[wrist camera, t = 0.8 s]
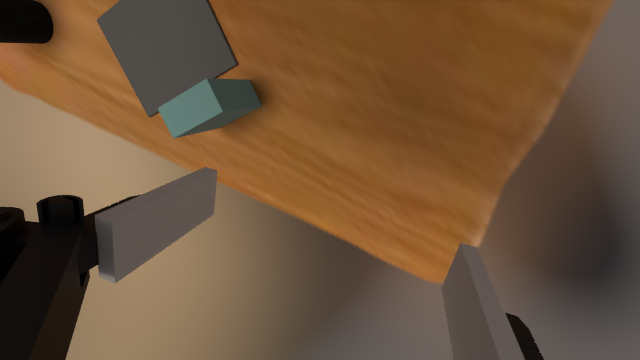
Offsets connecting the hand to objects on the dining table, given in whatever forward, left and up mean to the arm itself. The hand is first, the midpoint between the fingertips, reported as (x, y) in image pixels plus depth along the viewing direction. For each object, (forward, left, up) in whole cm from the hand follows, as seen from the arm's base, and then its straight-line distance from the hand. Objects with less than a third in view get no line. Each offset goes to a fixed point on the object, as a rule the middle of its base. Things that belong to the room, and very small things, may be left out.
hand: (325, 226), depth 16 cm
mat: (-23, -19, -23) cm, 37 cm away
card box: (-12, -14, -23) cm, 29 cm away
